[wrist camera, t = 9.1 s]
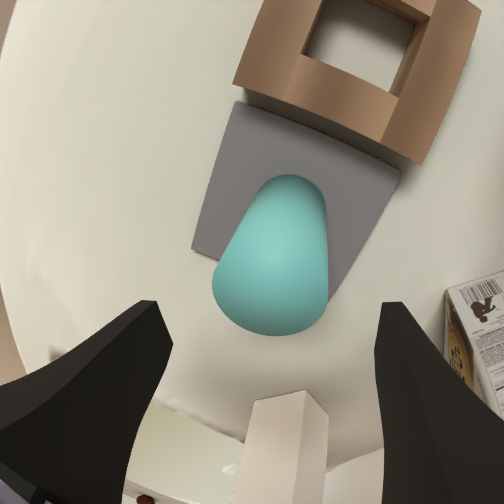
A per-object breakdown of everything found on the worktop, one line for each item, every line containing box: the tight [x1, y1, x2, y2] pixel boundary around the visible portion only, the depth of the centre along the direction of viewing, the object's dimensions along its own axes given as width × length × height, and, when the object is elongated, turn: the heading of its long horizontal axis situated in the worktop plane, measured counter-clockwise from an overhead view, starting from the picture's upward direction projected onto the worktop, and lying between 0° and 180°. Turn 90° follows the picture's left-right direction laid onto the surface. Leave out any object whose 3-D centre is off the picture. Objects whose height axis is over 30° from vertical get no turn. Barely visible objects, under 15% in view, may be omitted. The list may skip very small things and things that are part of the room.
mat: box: [191, 101, 403, 302], centre depth 18 cm, size 10×10×1 cm
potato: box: [136, 495, 155, 504], centre depth 83 cm, size 7×10×6 cm
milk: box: [229, 390, 329, 504], centre depth 20 cm, size 6×6×22 cm
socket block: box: [232, 0, 481, 166], centre depth 11 cm, size 10×10×2 cm
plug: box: [212, 174, 328, 336], centre depth 14 cm, size 4×4×8 cm
